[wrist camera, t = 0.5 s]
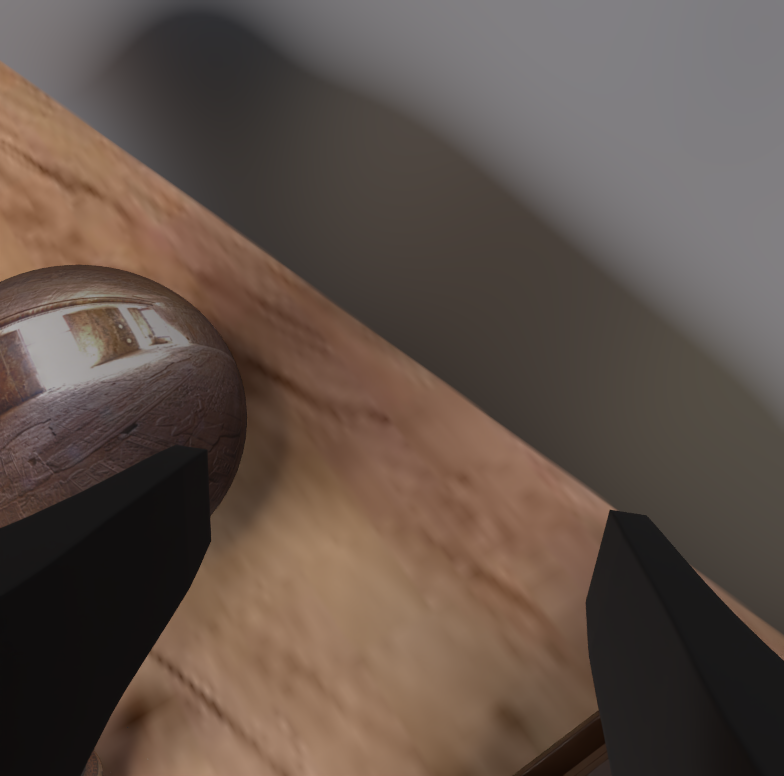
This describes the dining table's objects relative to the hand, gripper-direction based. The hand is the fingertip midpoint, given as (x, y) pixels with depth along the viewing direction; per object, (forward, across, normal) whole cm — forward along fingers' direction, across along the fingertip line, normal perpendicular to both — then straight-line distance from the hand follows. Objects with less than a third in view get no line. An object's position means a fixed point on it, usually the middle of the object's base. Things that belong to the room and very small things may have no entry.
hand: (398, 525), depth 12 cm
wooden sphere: (+23, +17, +14) cm, 32 cm away
